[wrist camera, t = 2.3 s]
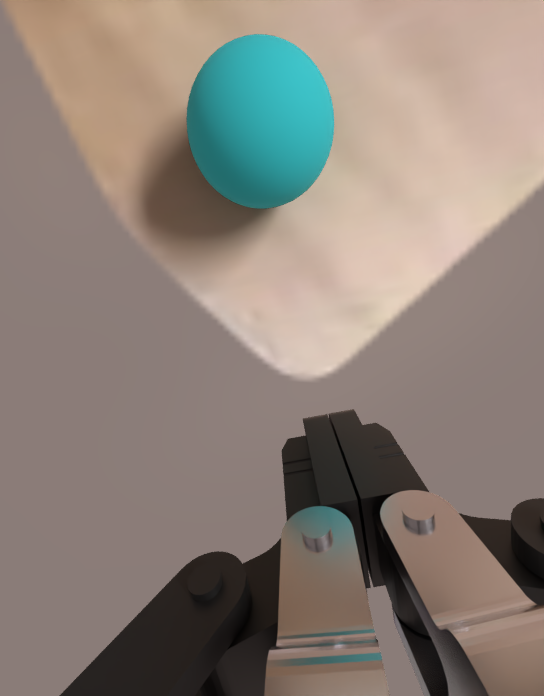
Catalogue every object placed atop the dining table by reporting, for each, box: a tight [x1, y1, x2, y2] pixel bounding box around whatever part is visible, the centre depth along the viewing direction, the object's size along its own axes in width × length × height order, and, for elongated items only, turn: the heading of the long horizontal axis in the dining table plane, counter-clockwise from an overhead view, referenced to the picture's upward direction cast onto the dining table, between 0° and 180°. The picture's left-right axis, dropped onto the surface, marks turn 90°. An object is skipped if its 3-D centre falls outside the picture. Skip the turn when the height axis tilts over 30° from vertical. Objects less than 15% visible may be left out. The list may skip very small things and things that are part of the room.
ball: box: [187, 34, 334, 209], centre depth 15 cm, size 6×6×6 cm
